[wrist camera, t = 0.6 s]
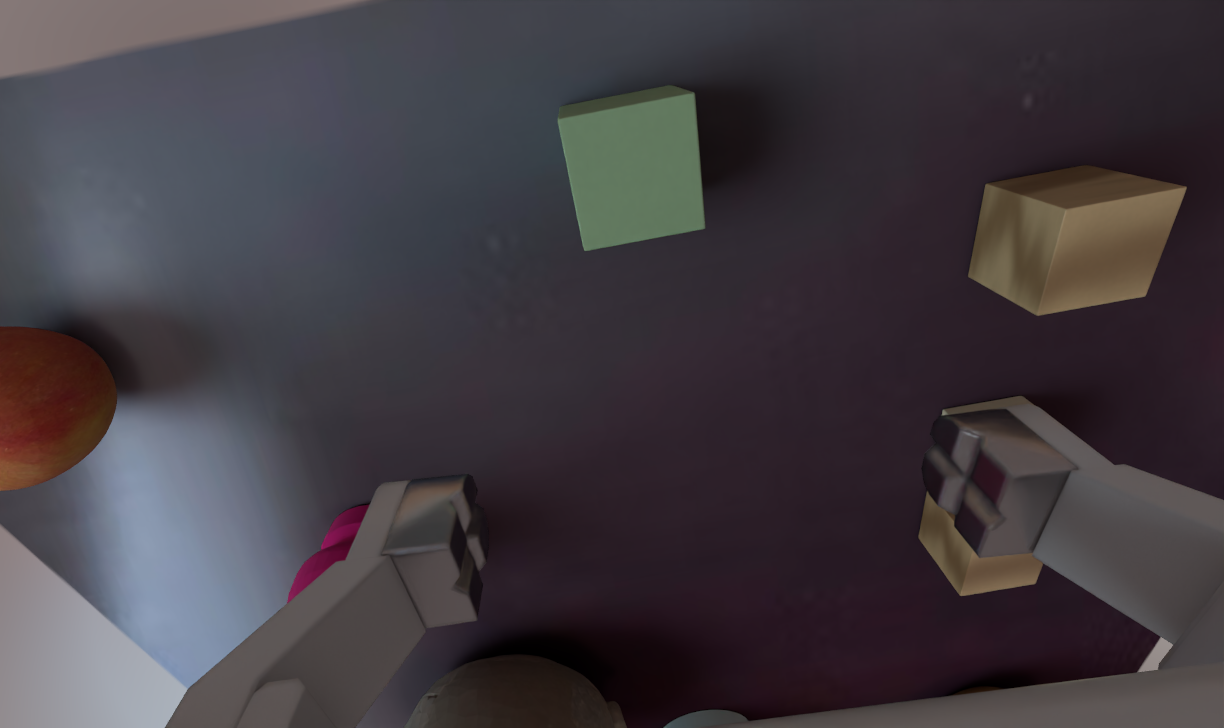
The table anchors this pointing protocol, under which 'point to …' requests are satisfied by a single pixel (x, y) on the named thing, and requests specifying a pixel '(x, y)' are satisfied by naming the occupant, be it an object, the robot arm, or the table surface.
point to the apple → (49, 404)
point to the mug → (706, 719)
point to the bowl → (515, 697)
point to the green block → (634, 165)
